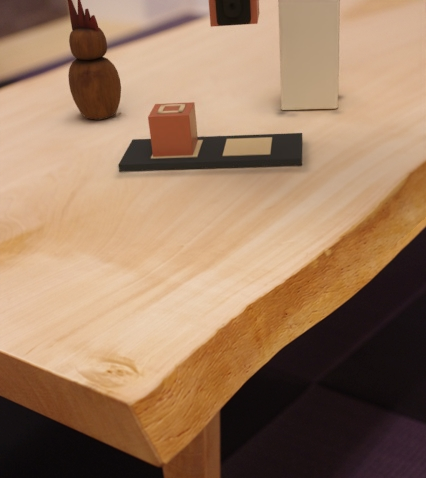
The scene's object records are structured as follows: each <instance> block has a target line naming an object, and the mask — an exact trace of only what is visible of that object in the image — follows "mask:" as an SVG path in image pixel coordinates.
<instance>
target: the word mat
mask: <svg viewBox="0 0 426 478" xmlns="http://www.w3.org/2000/svg"><path fill="white" fill-rule="evenodd" d="M302 165H303V133H302V132H291V133H290V132H288V133H287V132H286V133H264V134H262V133H261V134H260V133H259V134H238V135H212V136H210V135H209V136H198V142H197V145H196V148H195V150H194V153H193V155H181V156H153V152H152V144H151V138H135V139H134V138H133V139H132V140H131V141H130V143H129V145H128V146H127V149H126V150H125V152H124V154H123V156H122V157H121V159H120V161H119V163H118V171H119V172H136V171H137V172H139V171H141V172H142V171H167V170H168V171H170V170H199V169H201V170H202V169H203V170H204V169H229V168H230V169H231V168H233V169H234V168H253V167H254V168H261V167H263V168H265V167H291V166H292V167H293V166H295V167H296V166H302Z"/></svg>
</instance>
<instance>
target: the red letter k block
mask: <svg viewBox="0 0 426 478" xmlns="http://www.w3.org/2000/svg"><path fill="white" fill-rule="evenodd" d="M250 8H251V21H250V23H249V24H248V25H257V24H258V23H259V18H260V0H250ZM208 11H209V22H210V23H209V24H210V27H212V28H213V27H221V26H220V25H218V24H217V17H216V3H215V0H208ZM243 25H244V26H245V25H246V24H242V25H241V26H243ZM227 26H228V27H229V26H230V25H227ZM227 26H226V27H227Z"/></svg>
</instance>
